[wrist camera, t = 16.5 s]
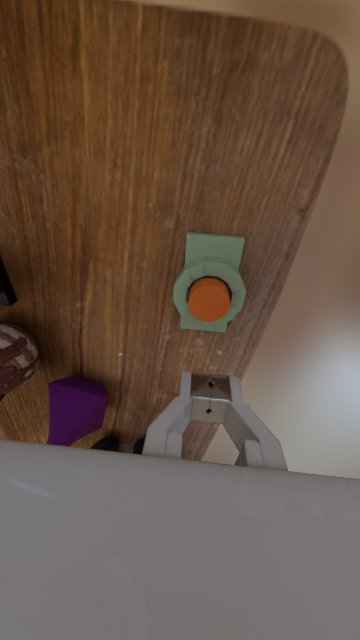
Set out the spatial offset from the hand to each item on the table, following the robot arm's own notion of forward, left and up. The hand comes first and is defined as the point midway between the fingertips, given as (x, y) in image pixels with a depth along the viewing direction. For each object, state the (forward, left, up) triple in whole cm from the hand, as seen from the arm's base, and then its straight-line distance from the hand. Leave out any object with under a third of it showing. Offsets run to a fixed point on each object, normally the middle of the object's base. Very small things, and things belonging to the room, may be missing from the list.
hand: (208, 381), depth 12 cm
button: (0, 0, -11) cm, 11 cm away
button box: (0, 0, -13) cm, 13 cm away
